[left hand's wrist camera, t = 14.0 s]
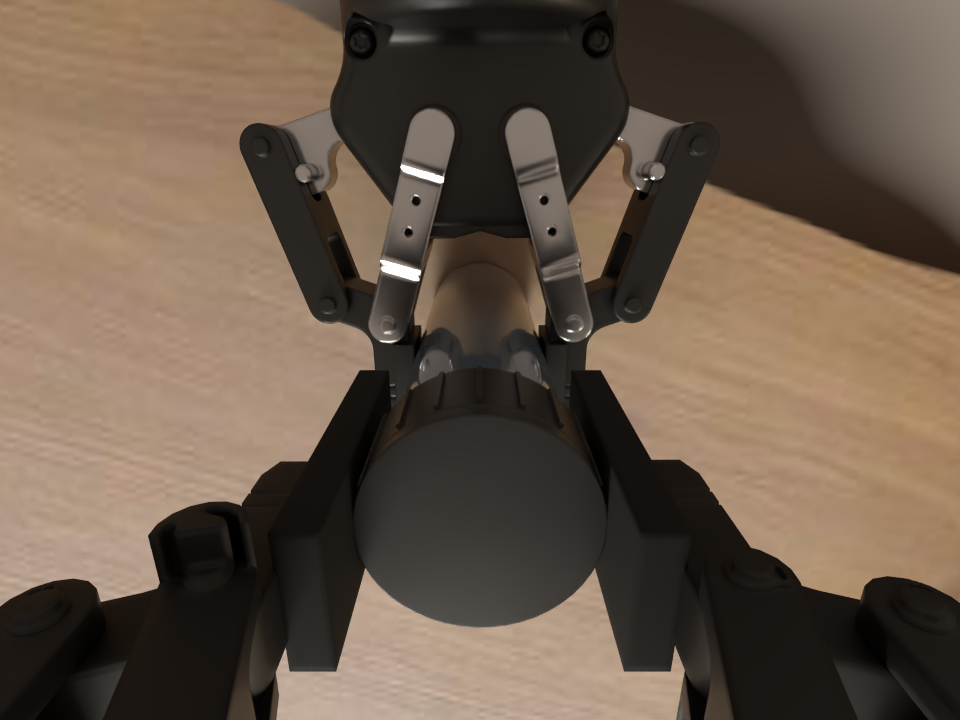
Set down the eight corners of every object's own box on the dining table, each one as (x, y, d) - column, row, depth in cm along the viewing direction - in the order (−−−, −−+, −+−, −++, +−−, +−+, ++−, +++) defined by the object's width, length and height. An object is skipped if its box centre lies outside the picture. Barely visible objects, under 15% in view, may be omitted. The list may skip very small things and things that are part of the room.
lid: (387, 561, 13) (369, 639, 11) (353, 372, 11) (324, 422, 9) (590, 546, 13) (612, 623, 11) (586, 354, 11) (610, 399, 9)
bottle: (439, 355, 26) (387, 608, 11) (428, 266, 24) (353, 425, 10) (528, 348, 26) (591, 595, 11) (523, 259, 24) (588, 407, 10)
